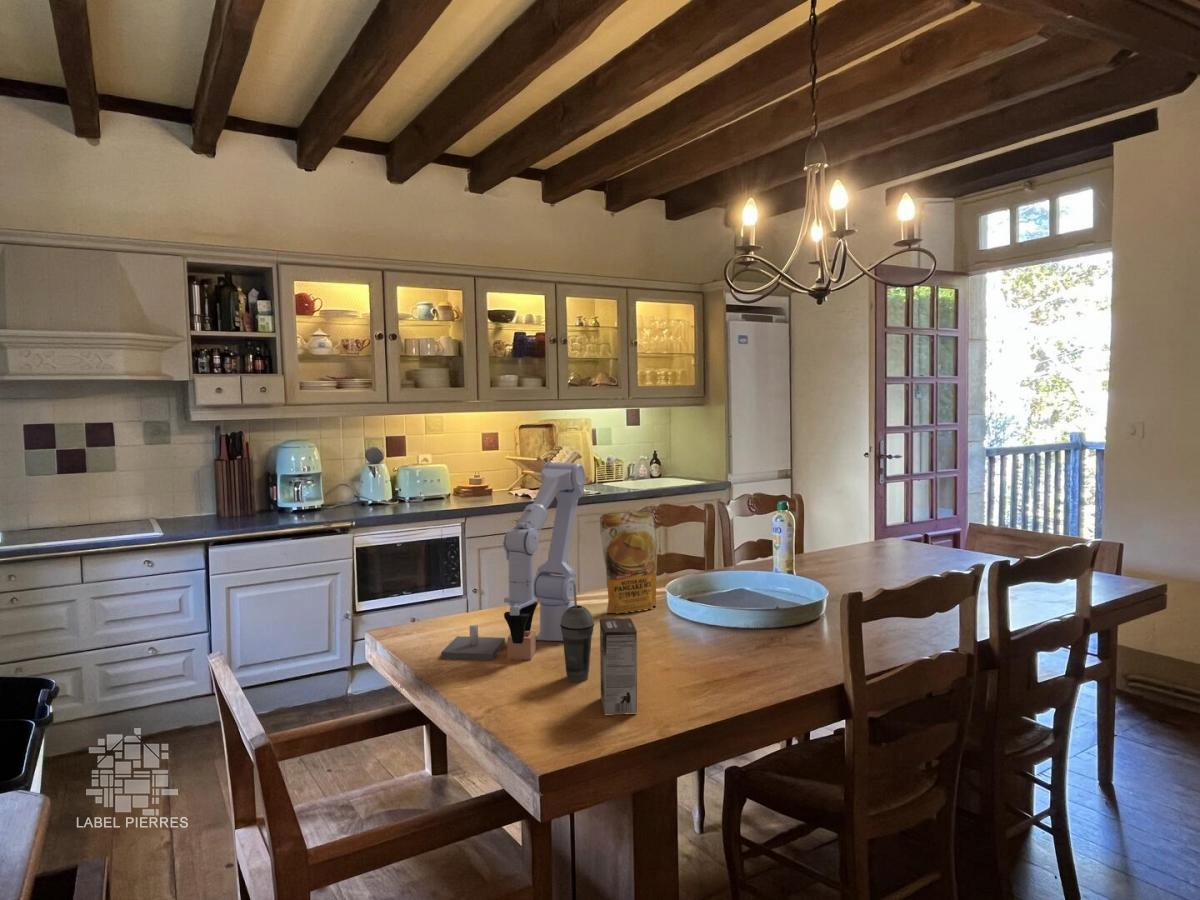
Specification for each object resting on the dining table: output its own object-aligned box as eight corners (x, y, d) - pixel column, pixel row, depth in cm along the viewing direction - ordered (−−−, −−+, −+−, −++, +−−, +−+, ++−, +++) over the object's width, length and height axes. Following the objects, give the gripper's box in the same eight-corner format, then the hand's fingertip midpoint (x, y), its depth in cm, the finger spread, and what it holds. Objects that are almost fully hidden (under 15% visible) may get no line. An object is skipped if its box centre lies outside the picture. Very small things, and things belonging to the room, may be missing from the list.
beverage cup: (569, 686, 157) (568, 591, 155) (554, 675, 163) (554, 583, 162) (600, 680, 160) (600, 587, 159) (585, 669, 166) (584, 580, 165)
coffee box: (599, 697, 151) (599, 617, 150) (631, 696, 151) (631, 616, 150) (603, 716, 142) (603, 631, 141) (637, 715, 142) (637, 630, 141)
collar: (535, 652, 178) (535, 631, 178) (530, 659, 173) (530, 638, 173) (513, 651, 179) (513, 630, 179) (507, 658, 174) (507, 637, 173)
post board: (505, 643, 185) (504, 619, 184) (492, 660, 173) (492, 634, 172) (457, 642, 186) (456, 618, 186) (441, 658, 174) (441, 632, 174)
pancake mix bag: (594, 611, 214) (594, 512, 212) (652, 602, 222) (652, 508, 221) (605, 617, 208) (605, 515, 206) (664, 608, 216) (664, 511, 215)
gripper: (511, 573, 183) (511, 628, 183) (496, 587, 168) (496, 647, 169) (540, 573, 182) (540, 629, 183) (527, 587, 167) (527, 648, 168)
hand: (521, 638), depth 176 cm, fingers open, 7 cm apart
